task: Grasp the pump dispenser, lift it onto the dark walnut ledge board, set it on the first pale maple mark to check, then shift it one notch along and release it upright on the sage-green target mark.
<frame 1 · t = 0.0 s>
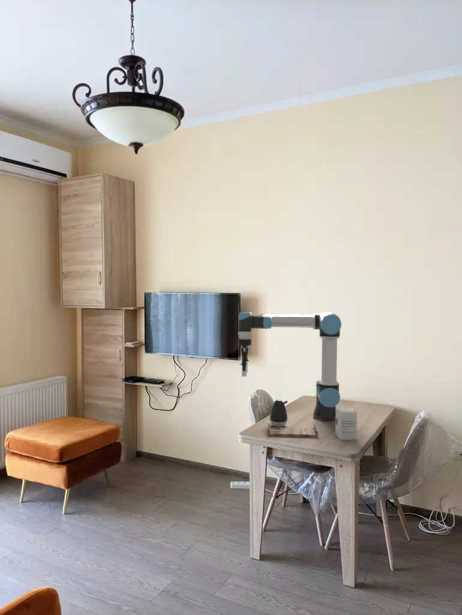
hand: (244, 374, 283), 28 cm above the table, fingers open, 13 cm apart
ledge board: (292, 433, 261), on the table
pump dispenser: (278, 426, 275), on the table
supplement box: (345, 437, 254), on the table
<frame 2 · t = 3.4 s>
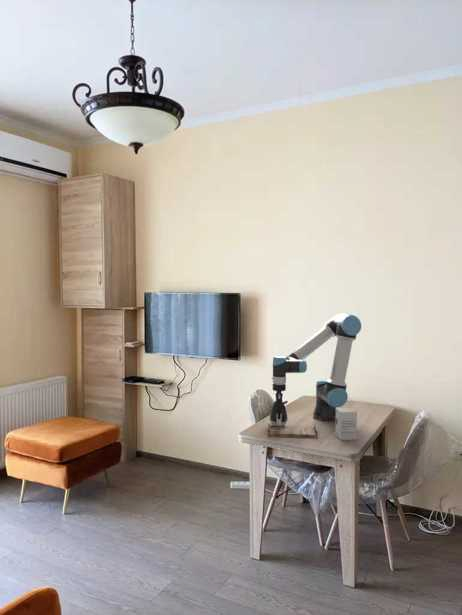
hand: (278, 421, 275), 2 cm above the table, fingers closed on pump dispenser, 10 cm apart
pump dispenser: (278, 426, 275), on the table, touching gripper
everything else where it was.
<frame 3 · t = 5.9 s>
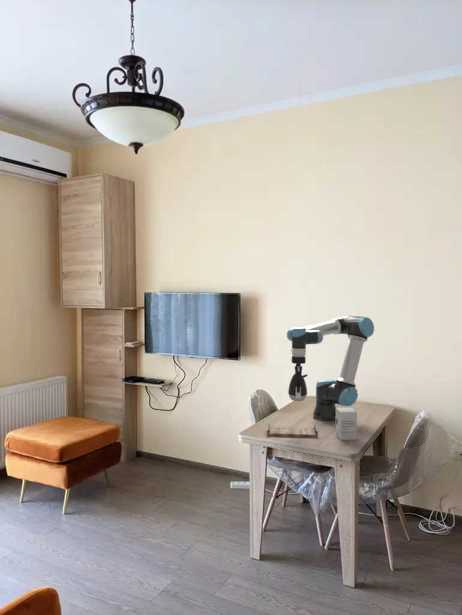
hand: (297, 396, 262), 20 cm above the table, fingers closed on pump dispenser, 10 cm apart
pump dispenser: (297, 400, 262), point 17 cm above the table, touching gripper
everything else where it was.
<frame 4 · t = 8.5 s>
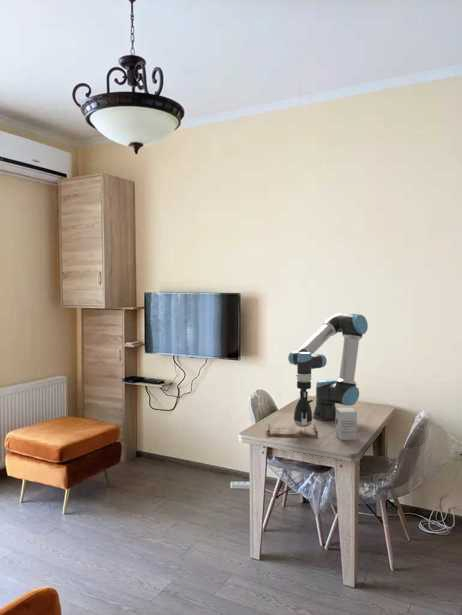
hand: (303, 421, 260), 7 cm above the table, fingers closed on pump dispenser, 10 cm apart
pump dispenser: (303, 426, 260), point 4 cm above the table, touching gripper
everything else where it was.
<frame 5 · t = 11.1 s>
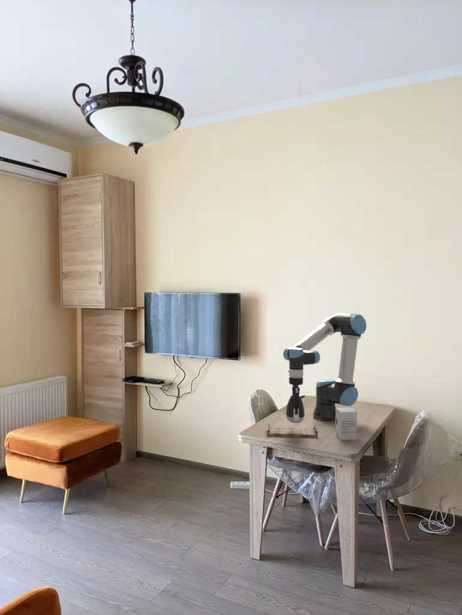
hand: (295, 417, 260), 9 cm above the table, fingers closed on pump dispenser, 10 cm apart
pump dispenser: (295, 422, 260), point 6 cm above the table, touching gripper
everything else where it was.
when the fingers open (4 cm above the table, at t = 13.5 s): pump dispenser stays where it is, resting on ledge board.
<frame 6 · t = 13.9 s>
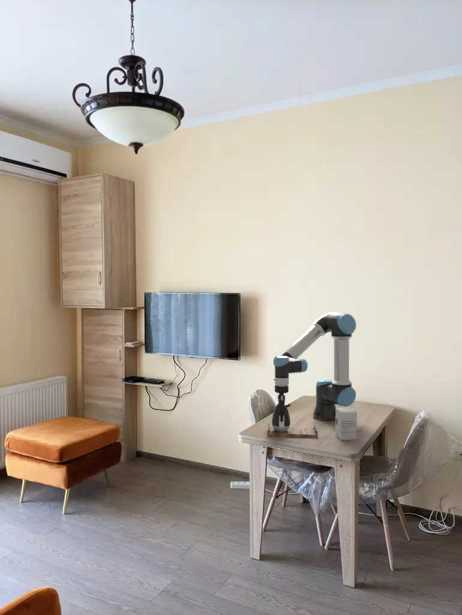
hand: (281, 423, 261), 5 cm above the table, fingers open, 13 cm apart
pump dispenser: (281, 430, 261), point 1 cm above the table, touching ledge board
everything else where it was.
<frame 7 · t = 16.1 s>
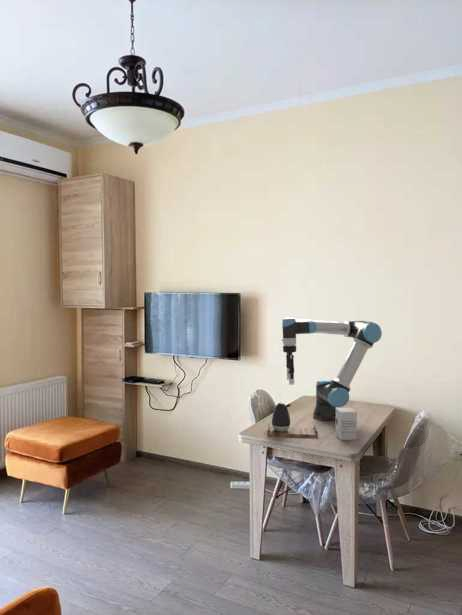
hand: (290, 382, 274), 25 cm above the table, fingers open, 13 cm apart
nothing on the table moved.
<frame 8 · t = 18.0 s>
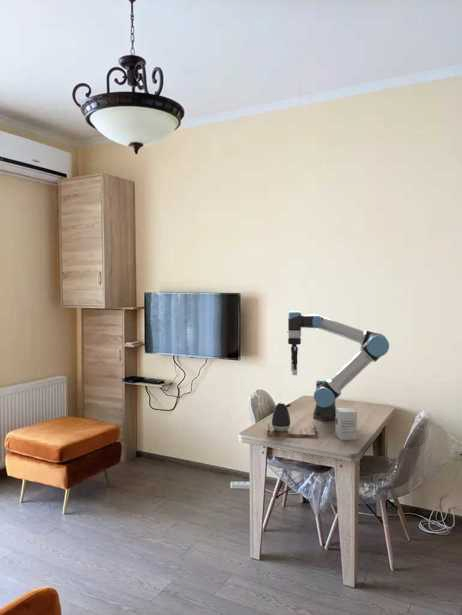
hand: (294, 373, 284), 29 cm above the table, fingers open, 13 cm apart
nothing on the table moved.
at the end: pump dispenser inside the target area (0.0 cm from its centre), point 1.3 cm above the table; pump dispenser tilted 0°; the gripper is holding nothing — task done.
